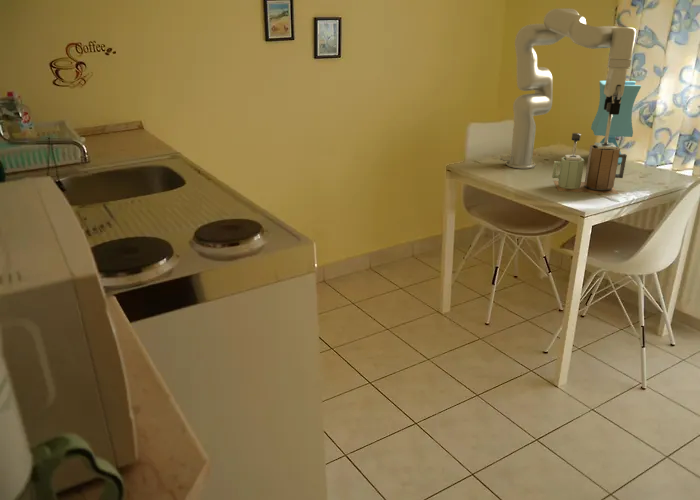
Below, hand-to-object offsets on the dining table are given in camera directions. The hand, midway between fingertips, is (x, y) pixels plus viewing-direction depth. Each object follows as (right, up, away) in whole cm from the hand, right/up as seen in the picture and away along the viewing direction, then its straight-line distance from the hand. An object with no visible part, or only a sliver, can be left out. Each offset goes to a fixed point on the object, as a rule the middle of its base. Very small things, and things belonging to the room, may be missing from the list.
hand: (611, 112), depth 214 cm
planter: (+23, -10, +55) cm, 60 cm away
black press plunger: (0, -16, +7) cm, 17 cm away
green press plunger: (-11, -19, +10) cm, 24 cm away
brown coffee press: (+2, -27, +11) cm, 29 cm away
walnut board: (-5, -28, +13) cm, 31 cm away
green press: (-12, -26, +14) cm, 32 cm away
